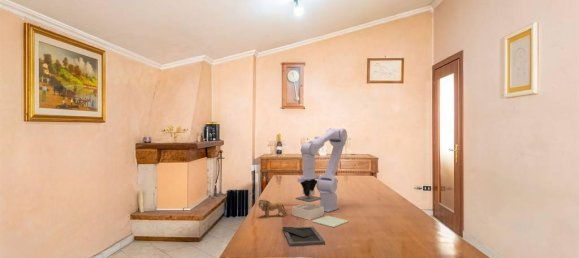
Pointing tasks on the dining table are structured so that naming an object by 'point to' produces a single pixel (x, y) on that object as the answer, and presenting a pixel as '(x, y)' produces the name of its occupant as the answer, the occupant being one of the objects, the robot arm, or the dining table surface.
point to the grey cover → (309, 197)
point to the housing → (308, 211)
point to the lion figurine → (271, 207)
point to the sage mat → (330, 221)
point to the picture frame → (302, 236)
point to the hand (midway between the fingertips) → (308, 195)
